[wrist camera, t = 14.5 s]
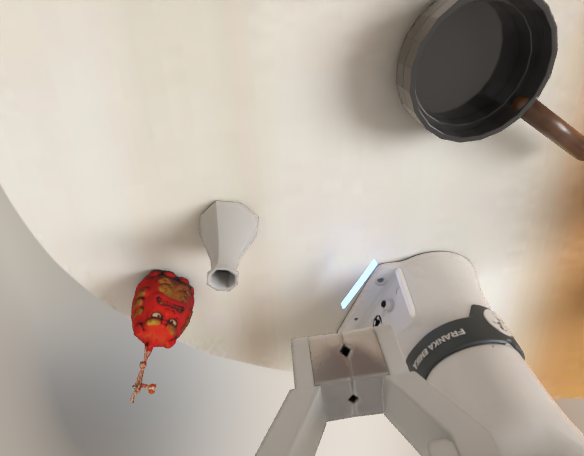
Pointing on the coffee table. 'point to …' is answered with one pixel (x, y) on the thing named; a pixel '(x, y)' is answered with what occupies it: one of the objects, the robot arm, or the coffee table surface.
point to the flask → (226, 240)
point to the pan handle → (551, 126)
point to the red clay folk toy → (160, 314)
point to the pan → (475, 64)
